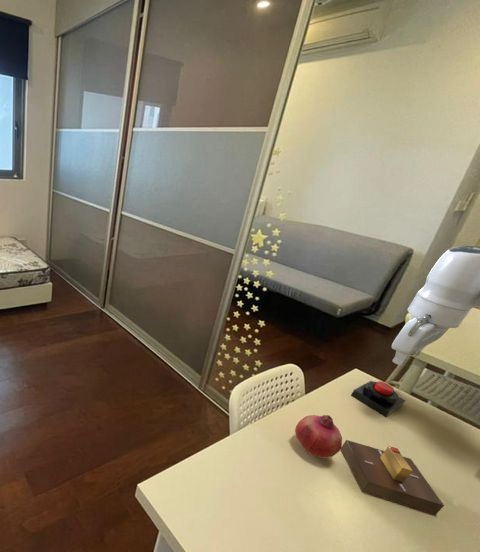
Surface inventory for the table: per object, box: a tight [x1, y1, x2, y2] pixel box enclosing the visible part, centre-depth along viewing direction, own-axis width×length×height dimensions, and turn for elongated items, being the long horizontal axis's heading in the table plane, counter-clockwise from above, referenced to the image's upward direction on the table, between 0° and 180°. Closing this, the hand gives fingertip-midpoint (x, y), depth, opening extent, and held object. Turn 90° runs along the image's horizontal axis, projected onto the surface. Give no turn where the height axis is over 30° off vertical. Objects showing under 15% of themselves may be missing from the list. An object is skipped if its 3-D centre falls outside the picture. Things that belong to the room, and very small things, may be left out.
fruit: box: [294, 414, 343, 459], centre depth 68 cm, size 8×8×10 cm
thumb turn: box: [380, 445, 412, 482], centre depth 64 cm, size 5×2×4 cm, turn 163°
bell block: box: [350, 380, 406, 418], centre depth 87 cm, size 10×8×4 cm
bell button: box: [374, 380, 395, 396], centre depth 86 cm, size 4×4×2 cm
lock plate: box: [340, 439, 445, 516], centre depth 65 cm, size 12×10×3 cm
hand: (405, 358), depth 81 cm, fingers open, 8 cm apart
